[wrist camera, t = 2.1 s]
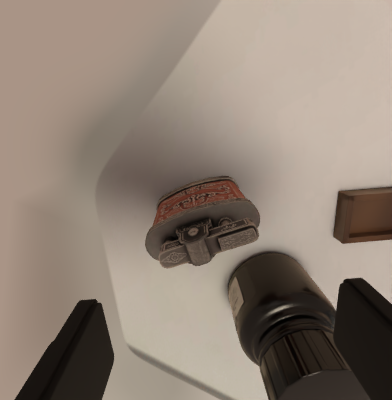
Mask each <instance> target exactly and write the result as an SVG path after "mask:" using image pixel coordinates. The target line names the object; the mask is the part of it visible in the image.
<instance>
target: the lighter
mask: <svg viewBox="0 0 392 400" xmlns="http://www.w3.org/2000/svg"><path fill="white" fill-rule="evenodd" d="M259 223H260V215H259V212H258V210H257V208H256V207H255V206H254V204H253V203H252V202H251V201H250V200H247V199H246V198H245V197H244V195H243V194H242V193H241V191H240V190H239V187H238V185H237V183H236V182H235V181H234V180H233V179H232V178H231V177H229V176H220V177H213V178H207V179H203V180H199V181H195V182H192V183H189V184H187V185H184V186H182V187H179V188H177V189H175V190H173V191H172V192H170V193H168V194H166V195H164V196H163V197H162V198H160V200H159V202H158V204H157V214H156V217H155V220H154V223H153V226H152V227H151V228H150V229H149V231H148V233H147V236H146V240H145V246H146V249H147V251H148V253H149V254H150V256H152V257H153V258H154V259H156V260H158V261H160V264H161V265H162V267H164V268H172V267H175V266H178V265H181V264H185V263H189V264H193V265H195V266H200V265H203V264H206V263H208V262H209V261H210V260H211V259H212V257H214V256H215V255H216V254H217V253H220V252H223V251H226V250H229V249H233V248H236V247H239V246H242V245H245V244H249V243H252V242H254V241H256V240H257V239H258V237H259V233H258V229H257V228H258V226H259Z"/></svg>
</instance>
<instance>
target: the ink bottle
mask: <svg viewBox="0 0 392 400" xmlns="http://www.w3.org/2000/svg"><path fill="white" fill-rule="evenodd" d="M228 295H229V301H230V305H231V309H232V314H233V318H234V322H235V326H236V331H237V334H238V338H239V341H240V344H241V347H242V349H243V351H244V352H245V354H246V355H247V356H248V358H249V359H250V360H251V361H253V362H254V363H255V364H256V365H258V366H259V368H260V372H261V375H262V379H263V382H264V386H265V389H266V393H267V396H268V399H269V400H371V399H370V398H369V396H368V395H367V393H366V392H365V390H364V389H363V387H362V386H361V384H360V383H359V381H358V380H357V378H356V376H355V375H354V373H353V372H352V370H351V369H350V367H349V366H348V364H347V363H346V361H345V360H344V358H343V357H342V355H341V353H340V352H339V350H338V349H337V347H336V346H335V343H334V340H333V332H334V324H335V317H336V310H335V308H334V307H333V305H332V304H331V303H330V301H329V300H328V299H327V297H326V296H325V295H324V294H323V292H322V291H321V290H320V289H319V287H318V286H317V285H316V283H315V282H314V281H313V280H312V278H311V277H310V276H309V275H308V273H307V272H306V271H305V270H304V268H303V267H302V266H301V265H300V264H299V263H298V262H297V261H295V260H294V259H292V258H291V257H289V256H286V255H283V254H279V253H267V254H262V255H259V256H256V257H254V258H252V259H250V260H248V261H246V262H245V263H244V264H242V265H241V266H240V267H239V268H238V269H237V270H236V271H235V272H234V274H233V275H232V277H231V279H230V282H229V286H228Z"/></svg>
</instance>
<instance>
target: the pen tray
mask: <svg viewBox="0 0 392 400" xmlns="http://www.w3.org/2000/svg"><path fill="white" fill-rule="evenodd" d="M334 237H335V238H336V239H337V240H339V241H340V242H341V243H343V244H345V243H356V242H367V241H379V240H390V239H392V187H386V188H374V189H362V190H350V191H339V195H338V204H337V212H336V220H335V228H334Z"/></svg>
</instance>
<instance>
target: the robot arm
mask: <svg viewBox="0 0 392 400" xmlns="http://www.w3.org/2000/svg"><path fill="white" fill-rule="evenodd" d="M333 340H334V343H335V346H336V347H337V349H338V350H339V352H340V353H341V355H342V357H343V358H344V360H345V361H346V363H347V364H348V366H349V367H350V369H351V370H352V372H353V373H354V375H355V376H356V378H357V380H358V381H359V383H360V384H361V386H362V387H363V389H364V390H365V392H366V393H367V395H368V396H369V398H370V399H371V400H392V304H391V303H390V302H389V301H388V300H386V299H385V298H384V297H383V296H382V295H381V294H380V293H379V292H378V291H376V290H375V289H374V288H373V287H372V286H371V285H370V284H369V283H368V282H366V281H365V280H364V279H363V278H353V279H345V280H344V281H343V283H342V284H340V287H339V294H338V302H337V309H336V317H335V324H334V332H333ZM113 362H114V353H113V348H112V345H111V340H110V336H109V332H108V328H107V324H106V320H105V316H104V312H103V308H102V304H101V303H97V300H96V299H91V300H81V301H79V302H78V303H77V305H76V306H75V308H74V310H73V311H72V313H71V314H70V316H69V318H68V319H67V321H66V322H65V324H64V326H63V327H62V329H61V330H60V332H59V334H58V335H57V337H56V339H55V340H54V341H53V342H51V344H50V345H49V346H48V348H47V349H46V351H45V352H44V354H43V356H42V357H41V359H40V361H39V362H38V364H37V365H36V367H35V368H34V370H33V371H32V373H31V375H30V376H29V378H28V379H27V381H26V382H25V384H24V386H23V387H22V389H21V390H20V392H19V394H18V395H17V397H16V399H15V400H102V397H103V394H104V391H105V388H106V385H107V382H108V379H109V375H110V372H111V369H112V366H113Z"/></svg>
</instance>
